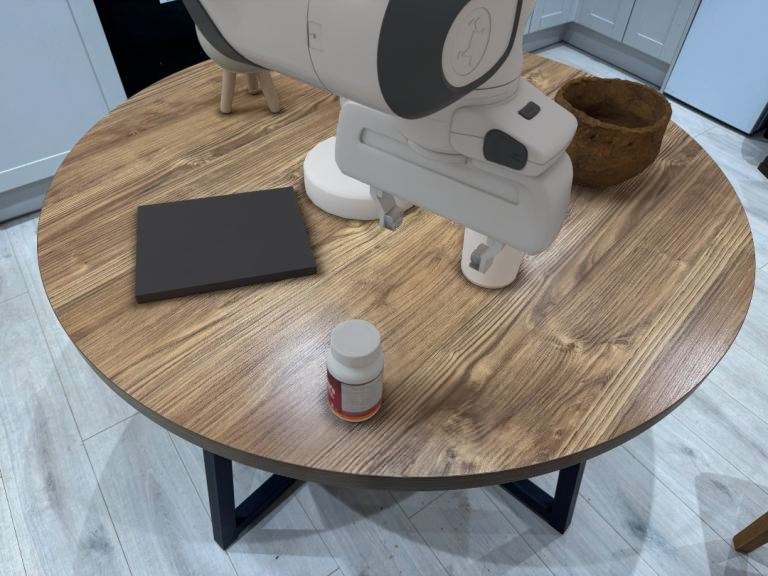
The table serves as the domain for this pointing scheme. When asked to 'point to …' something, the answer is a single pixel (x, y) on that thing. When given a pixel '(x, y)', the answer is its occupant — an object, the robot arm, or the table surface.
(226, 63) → the planter
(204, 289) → the board
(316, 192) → the container
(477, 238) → the mug
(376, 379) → the pill bottle
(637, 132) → the bowl
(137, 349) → the table surface
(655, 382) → the table surface
